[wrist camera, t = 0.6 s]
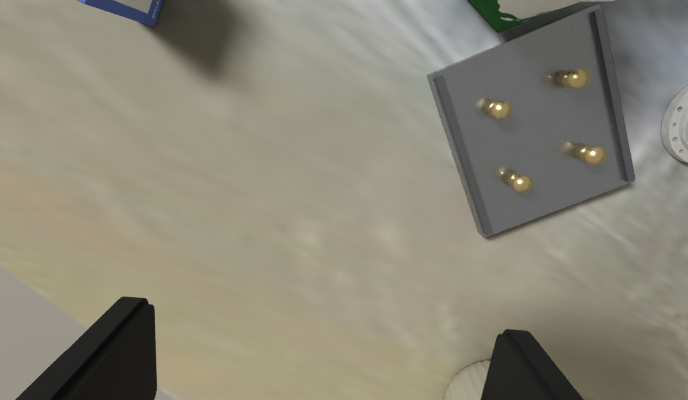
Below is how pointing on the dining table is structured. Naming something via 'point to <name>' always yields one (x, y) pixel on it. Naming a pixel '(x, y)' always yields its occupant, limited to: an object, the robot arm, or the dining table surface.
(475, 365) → the canister
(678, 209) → the dining table surface
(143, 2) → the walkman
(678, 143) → the mechanical component
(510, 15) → the milk carton
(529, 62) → the plate
